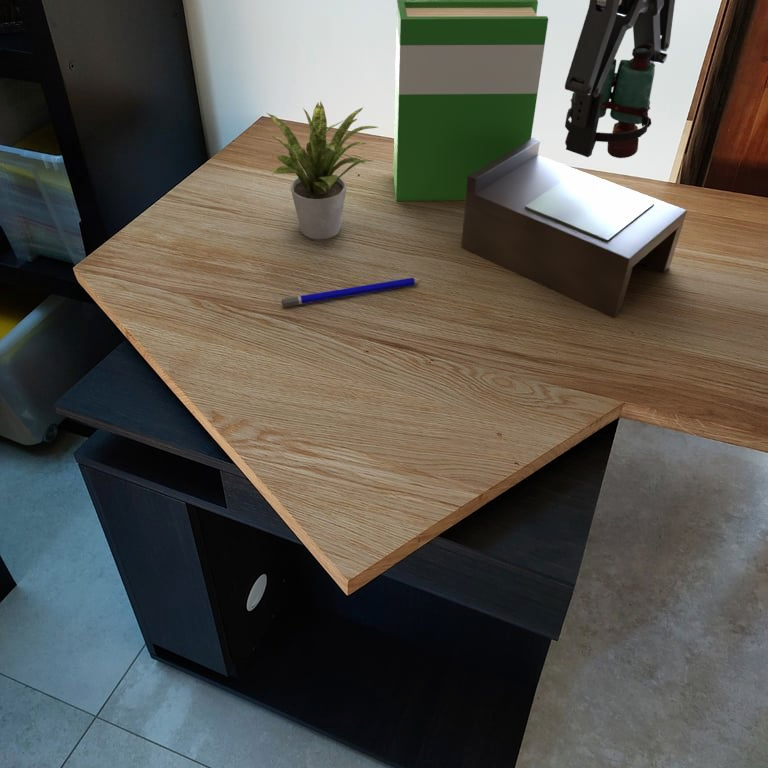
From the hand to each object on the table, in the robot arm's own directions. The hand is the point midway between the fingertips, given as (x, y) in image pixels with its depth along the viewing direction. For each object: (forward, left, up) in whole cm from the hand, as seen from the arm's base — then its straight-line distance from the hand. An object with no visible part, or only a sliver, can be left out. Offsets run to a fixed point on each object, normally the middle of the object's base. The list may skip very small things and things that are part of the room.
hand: (604, 135), depth 86 cm
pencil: (+16, +24, -17) cm, 33 cm away
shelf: (+2, 0, -17) cm, 17 cm away
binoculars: (0, 0, -2) cm, 2 cm away
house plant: (+28, +16, -17) cm, 36 cm away
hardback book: (+23, -5, -17) cm, 29 cm away
